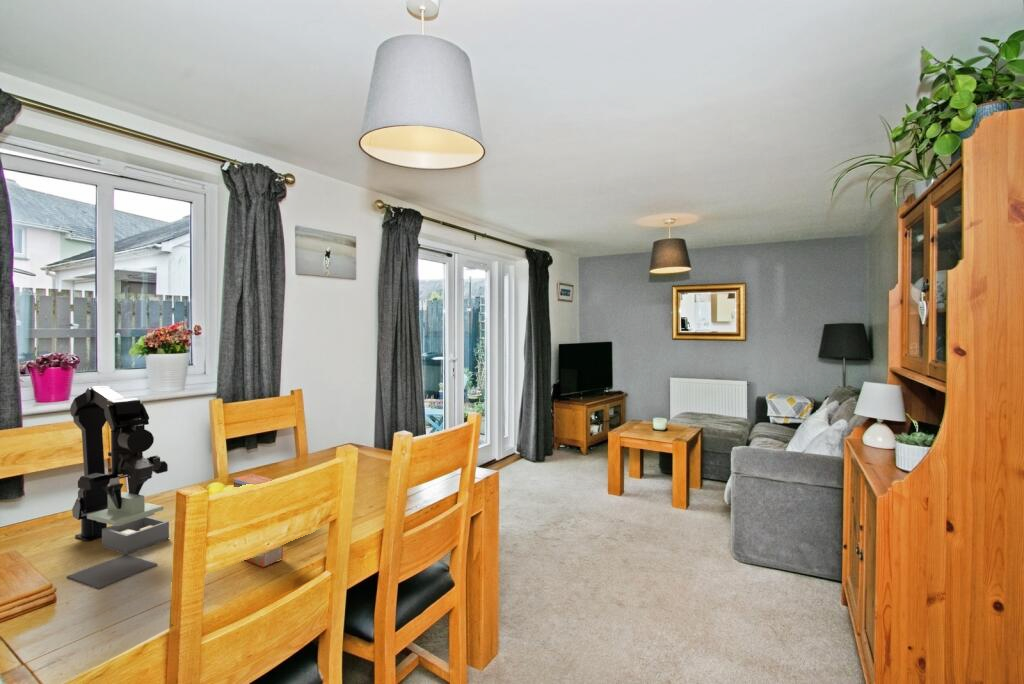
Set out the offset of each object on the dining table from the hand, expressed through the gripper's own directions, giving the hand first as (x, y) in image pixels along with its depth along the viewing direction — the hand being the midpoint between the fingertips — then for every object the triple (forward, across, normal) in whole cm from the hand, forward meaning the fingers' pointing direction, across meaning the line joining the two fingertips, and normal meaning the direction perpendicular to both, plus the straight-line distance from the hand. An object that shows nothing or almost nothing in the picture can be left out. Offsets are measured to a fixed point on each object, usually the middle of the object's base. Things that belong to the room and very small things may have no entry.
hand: (125, 506), depth 132 cm
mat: (+14, -6, -5) cm, 16 cm away
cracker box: (+14, +14, -31) cm, 37 cm away
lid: (+3, 0, 0) cm, 3 cm away
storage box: (+13, +7, +7) cm, 17 cm away
